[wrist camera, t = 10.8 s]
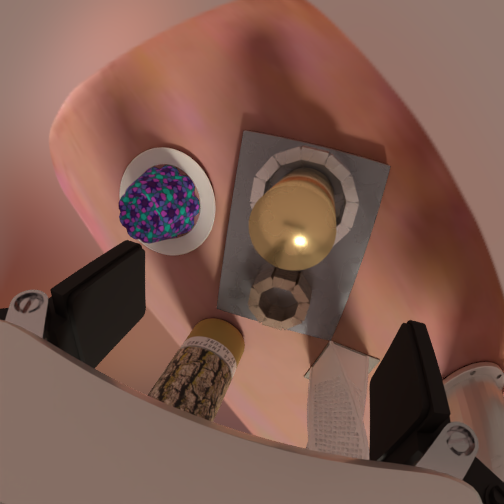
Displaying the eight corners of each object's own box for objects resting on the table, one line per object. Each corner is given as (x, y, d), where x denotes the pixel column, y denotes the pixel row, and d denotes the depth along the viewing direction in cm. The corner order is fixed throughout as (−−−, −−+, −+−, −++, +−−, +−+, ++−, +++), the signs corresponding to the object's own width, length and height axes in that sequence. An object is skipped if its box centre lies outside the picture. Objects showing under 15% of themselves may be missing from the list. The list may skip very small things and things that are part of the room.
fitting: (341, 176, 25) (347, 200, 16) (325, 230, 27) (321, 280, 18) (284, 161, 25) (258, 175, 16) (271, 214, 27) (240, 256, 18)
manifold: (387, 164, 24) (396, 170, 21) (331, 332, 33) (329, 355, 29) (248, 130, 26) (234, 130, 23) (221, 301, 35) (208, 321, 31)
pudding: (240, 218, 31) (223, 236, 26) (163, 269, 36) (140, 290, 31) (174, 123, 28) (145, 125, 24) (107, 189, 33) (78, 200, 29)
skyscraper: (294, 371, 37) (231, 584, 12) (323, 327, 33) (270, 591, 8) (350, 391, 36) (323, 595, 11) (384, 352, 32) (383, 593, 8)
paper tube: (190, 312, 37) (68, 479, 14) (243, 318, 35) (140, 518, 13) (200, 354, 39) (105, 510, 17) (248, 360, 37) (170, 539, 15)
